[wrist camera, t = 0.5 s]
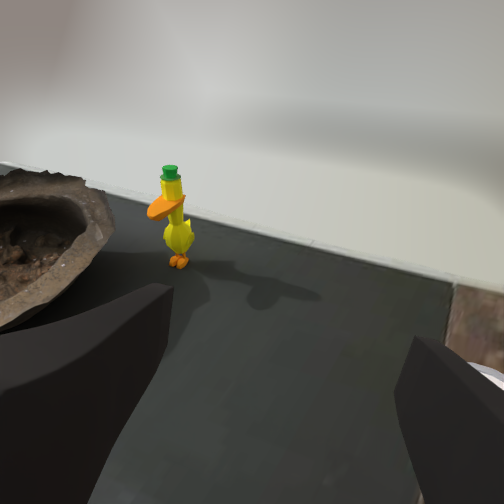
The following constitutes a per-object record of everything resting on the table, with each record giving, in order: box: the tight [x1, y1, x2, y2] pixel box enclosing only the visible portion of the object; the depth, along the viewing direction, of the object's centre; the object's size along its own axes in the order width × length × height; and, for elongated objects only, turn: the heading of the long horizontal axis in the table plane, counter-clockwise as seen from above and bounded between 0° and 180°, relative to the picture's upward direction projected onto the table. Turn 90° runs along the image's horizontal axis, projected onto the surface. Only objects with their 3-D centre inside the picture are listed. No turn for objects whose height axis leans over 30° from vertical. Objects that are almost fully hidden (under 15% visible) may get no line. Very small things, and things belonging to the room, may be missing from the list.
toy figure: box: [147, 165, 194, 269], centre depth 44 cm, size 7×4×12 cm, turn 156°
